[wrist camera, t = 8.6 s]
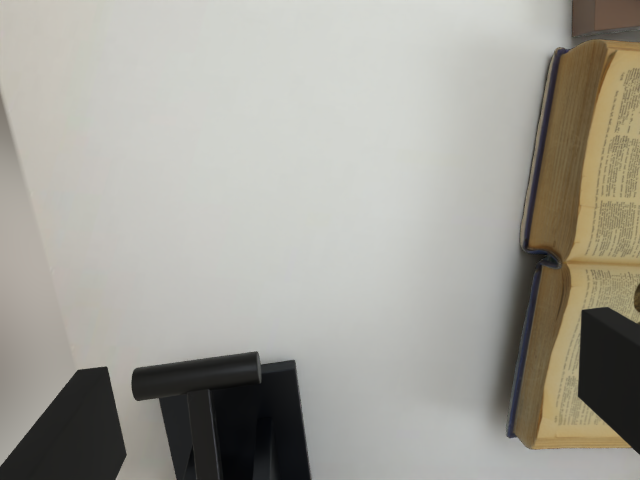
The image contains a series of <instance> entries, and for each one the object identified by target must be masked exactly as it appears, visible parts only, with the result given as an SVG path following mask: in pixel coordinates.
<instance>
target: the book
mask: <svg viewBox="0 0 640 480" xmlns="http://www.w3.org/2000/svg"><path fill="white" fill-rule="evenodd" d="M527 190H528V191H527V195H526V202H525V207H524V217H523V220H522V223H521V231H520V244H521V247H522V249H523V250H524V251H525V252H526V253H528V254H545V255H548V256H547V257H545V258H544V259H542V260H540V262H538V263H537V265H536V270H535V273H534V277H533V281H532V285H531V294H530V300H529V304H528V308H527V311H526V318H525V322H524V326H523V331H522V335H521V340H520V346H519V353H518V359H517V362H516V367H515V375H514V380H513V386H512V392H511V399H510V405H509V411H508V418H507V424H506V436H507V437H509V438H514V437H518V438H519V439H520V441H521V442H522V443H523V444H524V445H525V446H526V447H527V448H529V449H535V450H536V449H555V448H556V449H558V448H632V447H631V446H630V445H629V444H628V443H627V442H626V441H625V440H623V439H622V438H621V437H620V436H619V435H618V434H617V433H616V432H615V431H614V430H613V429H612V428H611V427H610V426H609V425H607V424H606V423H605V422H604V421H603V420H602V419H601V418H600V417H599V416H598V415H597V414H596V413H595V412H594V411H593V410H591V409H590V408H589V407H588V406H587V405H586V404H585V403H584V402H583V401H582V400H581V399H580V398H579V397H578V378H579V356H580V334H581V312H582V310H584V309H592V308H601V307H609V308H611V309H613V310H614V311H616V312H618V313H620V314H621V315H623V316H625V317H627V318H628V319H630V320H632V321H634V322H635V323H637V324H639V325H640V43H639V42H626V41H615V40H603V39H594V40H589V41H586V42H583V43H581V44H579V45H578V46H576V47H575V48H573V49H569V50H565V48H560V47H559V48H557V49H555V51H554V55H553V57H552V60H551V64H550V67H549V72H548V78H547V83H546V87H545V93H544V98H543V105H542V112H541V117H540V121H539V125H538V131H537V136H536V144H535V153H534V157H533V162H532V169H531V174H530V182H529V186H528V189H527Z"/></svg>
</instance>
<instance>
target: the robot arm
mask: <svg viewBox="0 0 640 480" xmlns="http://www.w3.org/2000/svg"><path fill="white" fill-rule="evenodd" d="M578 397H579V398H580V399H581V400H582V401H583V402H584V403H585V404H586V405H587V406H588V407H589V408H590V409H591V410H593V411H594V412H595V413H596V414H597V415H598V416H599V417H600V418H601V419H602V420H603V421H604V422H605V423H606V424H607V425H609V426H610V427H611V428H612V429H613V430H614V431H615V432H616V433H617V434H618V435H619V436H620V437H621V438H622V439H623V440H625V441H626V442H627V443H628V444H629V445H630V446H631V447H632V448H633V449H634V450H635V451H636V452H637V453H638V454H640V325H639V324H637V323H635V322H634V321H632V320H630V319H628V318H627V317H625V316H623V315H621V314H620V313H618V312H616V311H614V310H613V309H611V308H609V307H601V308H592V309H584V310H582V312H581V334H580V356H579V378H578ZM126 455H127V454H126V450H125V445H124V440H123V436H122V431H121V427H120V422H119V418H118V413H117V409H116V404H115V400H114V395H113V391H112V386H111V382H110V377H109V373H108V368H107V367H98V368H90V369H82V370H77V372H76V373H75V374H74V375H73V377H72V378H71V379H70V380H69V382H68V383H67V384H66V385H65V387H64V388H63V389H62V390H61V392H60V393H59V394H58V395H57V397H56V398H55V399H54V400H53V402H52V403H51V404H50V405H49V407H48V408H47V409H46V410H45V412H44V413H43V414H42V415H41V417H40V418H39V419H38V420H37V421H36V423H35V424H34V425H33V427H32V428H31V429H30V430H29V432H28V433H27V434H26V435H25V436H24V438H23V439H22V440H21V441H20V443H19V444H18V445H17V447H16V448H15V449H14V450H13V451H12V453H11V454H10V455H9V456H8V458H7V459H6V460H5V462H4V463H3V464H2V465H1V466H0V480H115V479H116V477H117V475H118V473H119V471H120V468H121V466H122V464H123V462H124V460H125V458H126Z"/></svg>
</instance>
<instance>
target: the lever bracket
mask: <svg viewBox="0 0 640 480" xmlns="http://www.w3.org/2000/svg"><path fill="white" fill-rule="evenodd" d="M213 393H214V401H215V410H216V418H217V427H218V435H219V444H220V452H221V461H222V469H223V478H224V480H311V473H310V466H309V458H308V451H307V444H306V436H305V429H304V422H303V414H302V407H301V400H300V393H299V385H298V378H297V371H296V363H295V360H292V361H285V362H278V363H270V364H263V365H261V383H260V384H255V385H248V386H240V387H233V388H226V389H219V390H213ZM159 401H160V405H161V410H162V415H163V419H164V424H165V428H166V433H167V438H168V442H169V447H170V451H171V456H172V460H173V465H174V470H175V474H176V479H177V480H197V478H196V469H195V460H194V451H193V443H192V434H191V425H190V416H189V407H188V399H187V394H184V395H177V396H170V397H163V398H159Z"/></svg>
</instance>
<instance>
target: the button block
mask: <svg viewBox="0 0 640 480" xmlns="http://www.w3.org/2000/svg"><path fill="white" fill-rule="evenodd" d="M633 30H640V0H573V10H572V37H579V36H588V35H597V34H606V33H615V32H624V31H633Z"/></svg>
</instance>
